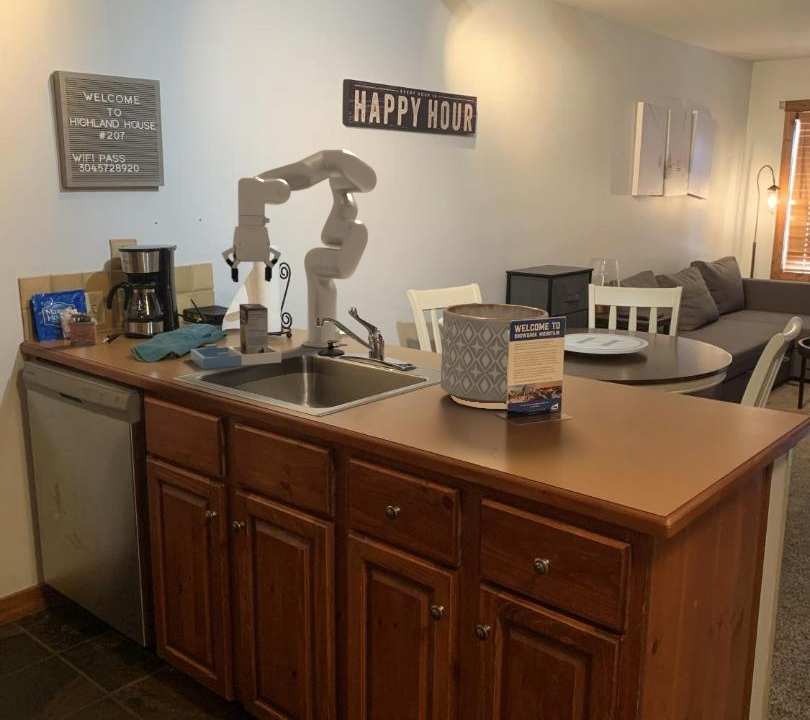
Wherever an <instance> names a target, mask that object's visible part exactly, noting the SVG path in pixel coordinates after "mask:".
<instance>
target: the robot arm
mask: <svg viewBox="0 0 810 720" xmlns="http://www.w3.org/2000/svg"><path fill="white" fill-rule="evenodd" d="M377 178H378V177H377V174H376V171H375V169H374V168H373V167H372V166H370V165H369V163H367V162H365V161H364V160H363V159H361V158H360V157H359V156H357V155H355V154H354V153H353V152H351V151H349V150H347V149H346V150H345V149H325V150H324V149H322V150H319V151H317V152H314V153H313V154H311V155H309V156H307V157H304V158H302V159H300V160H298V161H296V162H292V163H289V164H286V165H283V166H280V167H275V168H272V169H270V170H269V169H268V170H266V171H264V172H263V171H262V173H259V174H257V175H255V176H253V177H242V178H240V179H239V180H238V182H237V215H238V216H237V223H238V224H237V226H235V228H234V232H233V239H232V247H230V248H228V249H226V250H224V251H221V255H222V258H223V260H224V262H225V263H226V264H227V265H228V266H229V267H230V272H231V273H230V274H231V275H230V277H231V280H232V282H233V283H238V282H239V268H238V266H239V265H240V263H241V262H242V263H251V262H253V263H254V262H255V263H259V262H260V263H262V262H263V263H264V264H265V266H266V267H264V281H265V282H268V283H270V282H271V279H273V268H274V266H275V265H276V264H277V263H278V261H279V259H280V257H281V256H282V253H281V252H279V251H278V250H276V249H274V248H272V247H271V246H270V237H269V231H268V227H267V226H266V225H267V224H270V218H268V217H266V215H265V214H266V213H265V212H266V205H272V206H273V205H274V206H275V205H276V206H278V205H283V204H285V203H286V202H288V200H289V199H290V198H291V192H297V191H298V192H299V191H304V190H307V189H310V188H312V187H314V186H316V185H317V184H319V183H321V182H323V181H326V180H327V179H328V184H329V187H330V189H331V193H332V194H331V195H332V198H333V199H332V200H333V203H332V208H331V210H330V212H329V215H328V216H327V219H326V221H325V223H324V225H323V228H322V231H321V234H320V240H321V243H322V244H323V245H324V246H325V247H321V246H319V247H314V248H311V249H310V250H308V251H307V252H306V254H305V257H304V260H303V263H304V266H303V267H304V270H305V271H304V272H305V276H306V283H307V285H306V286H307V338H306V339H304V340H302V345H303V346H304V347H308V348H309V347H310V348H317V349H320V348H321V349H324V348H325V349H327V347H328V343H327V341H328V340H335V341H337V342H336V343H335V347H334V348H336V346H337V347H340V346H341V345H342V339H349V338H351V336H350V337H349V336H348V335H347V334H346V333H344V332H345V331H340V330H338V326H336V325H334V324H333V323H331V322H325V323H324V324H323V326H321V327H317V326H316V325H315V320H316V319H317V318H331V319H334V320H336V321H338V320H337V319H338V290H337V287H336V283H335V281H334V280H344V281H345V280H347V279H351V277H353V275H354V274H355V272H356V271H357V268H358V266H359V263H360V261H361V259H362V257H363V254H364V251H365V250H366V247H367V244H368V240H369V231H368V228H367V226H366V224H365V223H364V222H363V221H360V220H357V219H356V218H357V217H358V213H359V207H358V204H357V201H356V199H355V197H354V194H353V193H355V194H358V193H359V194H365V193H366V194H367V193H370V192H372V191H373V190H374V189H375V188H376V185H377V183H378V181H377V180H378V179H377ZM271 254H272V255H273V258H272V259H271ZM230 255H232V260H231V259H230V257H229V256H230ZM270 259H271V260H270Z"/></svg>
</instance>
